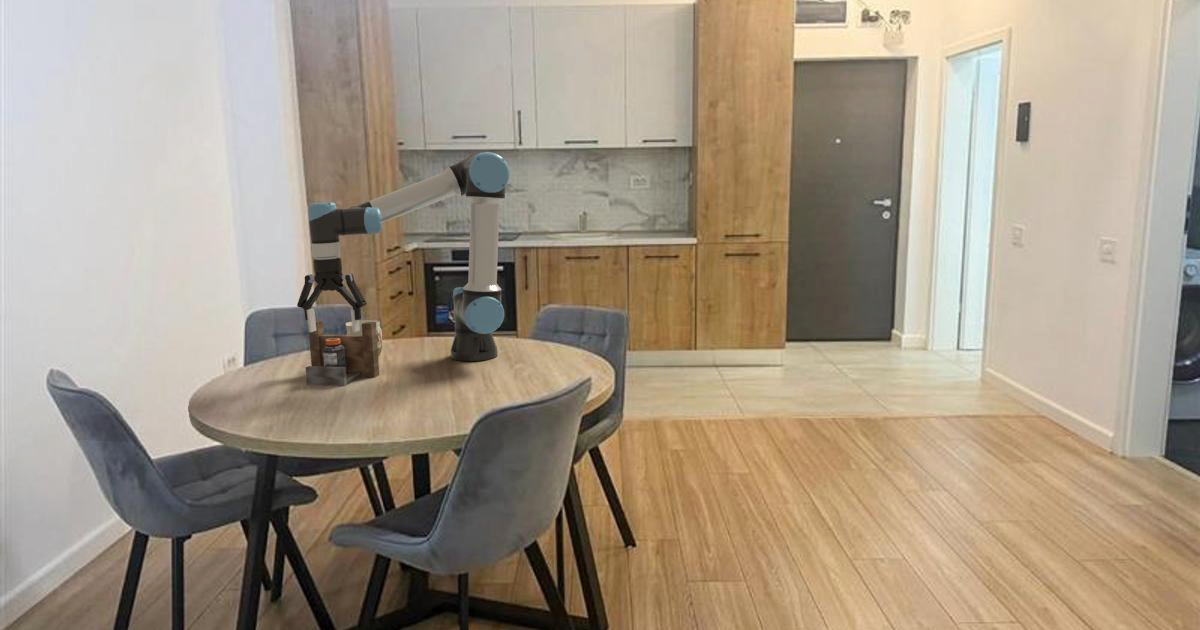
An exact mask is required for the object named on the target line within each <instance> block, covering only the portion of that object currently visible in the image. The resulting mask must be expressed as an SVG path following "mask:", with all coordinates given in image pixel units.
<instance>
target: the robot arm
mask: <svg viewBox="0 0 1200 630" xmlns="http://www.w3.org/2000/svg"><path fill="white" fill-rule="evenodd" d="M510 175H511V174H510V167H509V165H508V163H507V162H506V160H505V159H504V158H503V157H502V156H500V154H497V153H494V152H491V151H481V152H479V153H474V154H471V155H469V156H467V157H466V158H464V159H462V160H460V161H459V162H457V163H454V164H453V165H450V166H448V167H446V169H445V171H444V172H440V173H439V174H436V175H433V176H430V177H427V178H425V179H423V180H420V181H418V182H416V183H413V184H409V185H407V186H405V187H402V188H399V189H398V190H395V191H392V192H390V193H387V194H383V195H382V196H379V197H376V198H373V199H371V200H368V201H366V202H364V203H360V204H358V205H355V206H354V205H353V206H351V207H349V208H337V204H336V203H335V202H331V201H330V202H313V203H310V204H309V206H308V207H307V209H308V212H307V213H308V224H309V233H310V241H311V243H310V244H311V251H312V257H313V258H314V259H313V260H312V262H313V271H314V273H315V274H314V275H313V274H308V275H305V276H304V284H303V287H302V289H301V293H300V295H299V298H298V301H297V304H296V306H297V307H298V308H301V309H303V311H304V318H305V321H307V327H308V326H309V329H308V333H309V332H313V331H316V321H317V320H316V314H315V307H314V308H313V305H314V304H315V302H316V301H317V300H318V298H319V297H320V295H321V294H322V293H323V291H324V292H327V291H330V292H331V291H333V292H335V291H336V292H337V293H338V294H340V295H341V296H342V297H343V299H344V300H345V301H346V302H347V303H348V304H349V305H350V306H351V309H350V317H351V322H352V329H353V332H357V331H359V330H360V327H359V320H361V319H362V312H361V309H362V308H363V307H365V306H367V301H366V299H365V298H364V296H363V294H362V292H361V290H360V289H359V287H358V285H357V283H356V281H355V278H354V274H353V273H349V274H343V265H342V258H341V257H340V256H341V254H342V253H341V243H340V236H343V237H344V236H354V235H357V236H359V235H374V234H380V233H381V232H382V230H383V223H386V222H388V221H391V220H394V219H396V218H399V217H402V216H404V215H407V214H409V213H412V212H414V211H417V210H419V209H422V208H425V207H427V206H431V205H432V204H435V203H437V202H440V201H443V200H445V199H448V198H450V197H453V196H457V197H462V196H465V198H466V199H467V200H468V201H469V203H470V215H469V216H470V217H469V219H470V220H469V224H470V225H469V247H468V249H469V251H468V253H469V254H468V279H467V281H468V282H467V283H466V284H465V285H464V286H463V287H455V288H454V289H453V292H452V293H453V294H452V300H453V316H454V317H453V318H454V320H453V321H454V335H453V336H454V337H453V340H452V343H451V348H450V358H451V359H452V360H454V361H459V362H480V361H486V360H492V359H494V358H496V357H498V351H499V350H498V347H497V344H496V342H495V339H494V336H493V332H495V331H496V330H498V329H499V328H500V327H501V325H502V324H503V321H504V319H505V310H504V307H503V304H502V288H501V287H500V286H499V284H498V283H497V281H498V261H499V260H498V259H499V257H498V255H499V254H498V253H499V252H498V251H499V230H500V229H499V227H500V205H501V204H502V203H503V202H504V201H505V199H506V187H507V184H508V183H509V180H510ZM314 282H316V286H315V287H314V290H313V292H312V293H311V290H312V288H313V284H314ZM343 282H345V283H346V285H347V287H348V288H347V287H346V285H345V284H344V283H343ZM348 289H349V290H350V291H349V290H348ZM310 293H311V294H310Z"/></svg>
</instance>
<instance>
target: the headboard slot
mask: <svg viewBox="0 0 1200 630" xmlns="http://www.w3.org/2000/svg"><path fill="white" fill-rule="evenodd" d="M315 321H316V331H313V332H309V331H308V337H309V338H308V340H309V341H308V342H309V350H310V351H309V352H310V362H311V363H310V364H311V365H308V366H306V367H305V375H306V376H305V377H306V385H310V386H311V385H312V386H313V385H315V386H317V385H318V386H343V387H344V386H347V385H349V384H351V383H353V382H355V381H356V380H358V379H361V378H362V377H365V378H377V377H378V376H380V365H379V364H380V363H379V360H378V345H377V330H376V322H364V323H362V335H347V334H326V333H325V332H324V322H323V321H324V320H315ZM307 327H308V330H309V326H308V325H307ZM330 338H340V341H341V343H340V344H341V345H342V346H344V348H345V359H346V367H324V356H323V349H324V347H326V340H327V339H330ZM346 371H347V376H346Z"/></svg>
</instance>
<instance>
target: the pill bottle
mask: <svg viewBox="0 0 1200 630" xmlns="http://www.w3.org/2000/svg"><path fill="white" fill-rule="evenodd" d="M340 343H341V341H340V338H330V339H327V340H326V347H324V349H323V356H324V367H346V359H345V348H344V346H342V345H341V344H340ZM346 376H347V371H346Z"/></svg>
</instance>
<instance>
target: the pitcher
mask: <svg viewBox="0 0 1200 630" xmlns="http://www.w3.org/2000/svg"><path fill="white" fill-rule="evenodd" d="M364 322H376V330H377V345H378V360H379V359H380V357H381V354H382V349H383V332H382V331H383V330H382V328H381V326H380V322H381V321H380V320H376V319H375V320H374V319H364V320H363V319H362V320H361V319H360V320H359V327H360V330H359V331H357V332H353V329H352V321H349V322H345V323H344V324H345V327H346V335H362V323H364Z"/></svg>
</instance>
